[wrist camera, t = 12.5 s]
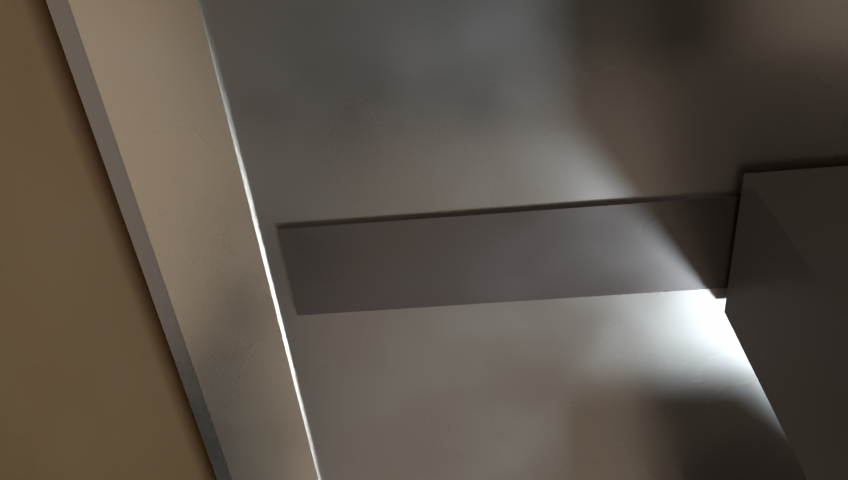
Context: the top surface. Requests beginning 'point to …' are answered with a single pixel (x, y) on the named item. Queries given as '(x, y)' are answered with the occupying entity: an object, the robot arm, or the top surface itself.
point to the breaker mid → (796, 306)
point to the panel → (458, 223)
